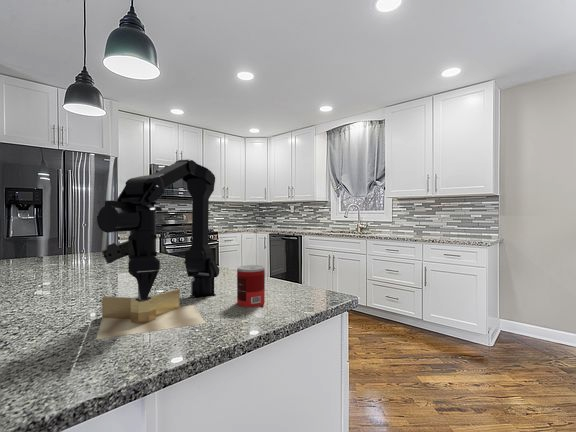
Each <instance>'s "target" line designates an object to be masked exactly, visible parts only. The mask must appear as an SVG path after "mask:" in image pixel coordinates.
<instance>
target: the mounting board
mask: <svg viewBox="0 0 576 432" xmlns="http://www.w3.org/2000/svg"><path fill="white" fill-rule="evenodd" d="M100 321H101V322H100V324H99V328H98V332H97V335H96V338H95V340H97V341H98V340H102V339H103V340H105V339H111V338H116V337H123V336H131V335H135V334H143V333H149V332H155V331H156V332H157V331H164V330H169V329H176V328H184V327H191V326H195V325H202V324H207V322H206V321H205V319H204V318H203V316H202V315H201V313H200V312H199V311H198V309H197V307H196V306H195V304H190V305H184V306H183V305H182V306H181V305H180V306H179V308H178V309H175V310H172V311H169V312H166V313H163V314H160V315H157V316H156V319H155V320H153V321H151V322H147V323H140V324H137V323H131V319H117V318H102V317H101V320H100Z"/></svg>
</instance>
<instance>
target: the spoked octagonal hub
mask: <svg viewBox="0 0 576 432" xmlns="http://www.w3.org/2000/svg"><path fill="white" fill-rule="evenodd" d="M101 300H102V301H101V302H102V303H101V305H102V306H101V307H102V308H101V309H102V310H101V311H102V313H101V314H102V315H101V316H102V317H101V319H102V318H117V319H131V323H137V324H140V323H147V322H151V321H153V320H155V319H156V316H157V315H160V314H163V313H166V312H169V311H172V310H175V309H178V308H179V307H180V289H179V288H176V289H173V290H169V291H165V292H162V293H158V294H154V295H148V300H144V301H138V296H136V297H127V296H126V297H125V296H124V297H123V296H102V297H101Z"/></svg>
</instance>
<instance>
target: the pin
mask: <svg viewBox="0 0 576 432" xmlns="http://www.w3.org/2000/svg"><path fill="white" fill-rule="evenodd" d="M137 297H138V301H144V300H141V296H140V292H139V287H138V286H137ZM146 300H148V297H147V299H146Z"/></svg>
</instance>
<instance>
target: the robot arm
mask: <svg viewBox="0 0 576 432" xmlns="http://www.w3.org/2000/svg"><path fill="white" fill-rule="evenodd" d="M215 176H216V175H215V174H214V173H213V172H212V171H211V170H210V169H209V168H208V167H205V166H203V165H201V164H198V163H197V162H195V161H194V160H193V159H178V160H176V161H175V162H173V163H172V164H170V165H169V166H166V167H164V168H163V169H160V170H158V171H156V172H154V173H152V174H149V175H148V174H147V175H142V176H136V177H131V178H129V179H127V180H126V181H125V185H124V188H123V189H122V191H121V193H120V194H119V196H118V197H117V199H116V200H111V199H110V200H104V206H103V207H102V208H101V209H99V212H98V215H97V216H96V221H97V222H96V223H97V226H98V228H99V229H100V230H101V231H102V232H103V233H107V234H109V233H121V232H129V235H128V237H127V238H128V240H126V241H123V242H120V243H119V242H118V243H116V242H112V243H110V244H107V245H106V248H104V249H102V250H101V253H102V256H103V258H104V260H105V263H106V264H107V265H109V264H111V263H114V262H115V261H117V260H119V259H122V258H125V257H127V256H128V263H127V264H128V273H129V275H130V276H132V277H134V279H136V284H137V288H138V287H139V292H140V296H141V300H146V299H147V297H148V296H150V292H151V290H152V289H153V286H154V283H155V280H156V278H157V276H158V274H159V272H160V270H161V265H160V264H161V262H160V259H159V258H158V255H157V254H158V253H157V252H158V251H157V240H158V237H157V236H158V235H157V212H162V211H163V208H162V207H161V205H158V203H157V202H158V201H159V199H161V198H162V196H163V195H164V194H165V193H166V189H167V188H168V187H170V186H172V185H173V184H174V183H176V182H178V181H180V180H181V181H182V182H184V183H185V184H186V190H187V192H188V194H189V195H190V197H191V199H192V201H191V203H192V204H191V205H192V207H191V210H192V211H191V246H190V247H189V249H187V250H185V252H184V264H185V265H184V266H185V271H186V273H187V277H189V278H191V277H192V280H191V281H190V294H191V296H192V297H193V298H194V299H201V298H202V299H203V298H208V297H216V296H217V295H216V293H215V278H217V277H219V275H220V270H221V269H220V267H219V266H218V265H217V263H216V261H215V258H214V257H215V256H214V252H213V249H212V248H211V247H210V245H209V210H210V208H209V207H210V206H209V205H210V203H209V202H210V201H209V199H210V197H211V196H212V194H213V193H214V190H215V184H216V177H215Z"/></svg>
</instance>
